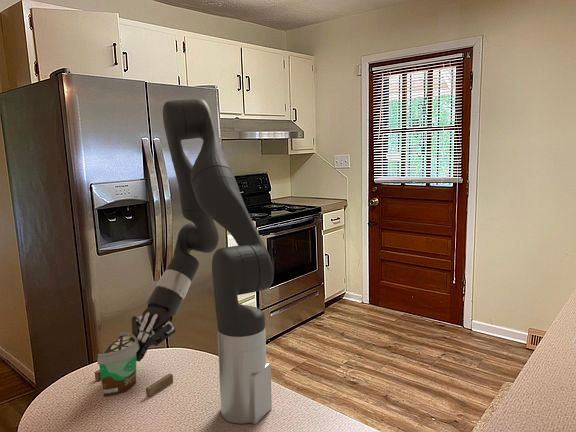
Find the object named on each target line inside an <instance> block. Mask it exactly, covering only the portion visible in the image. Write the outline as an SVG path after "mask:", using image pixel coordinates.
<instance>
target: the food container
mask: <svg viewBox="0 0 576 432" xmlns="http://www.w3.org/2000/svg"><path fill="white" fill-rule="evenodd" d="M138 350H139V344H138V340H137V339H136V337H135V336H134V335H132V333H129V332H119V336H118V338H117V339H116V340H115V341H113V342H112V343H111V344H110V345H109V346H108V347H107V349H106V350H105V351H104V352H103V353H97V365H99V370H100V374H101V380H100V381H101V389H102V393H103V394H102V395H103V397H104V398H105V397H113V396H118V395H121V394H123V393H126V392H128V391H130V390H131V389H133V388H134V387H135V385H136V383H137V361H136V352H137V351H138Z"/></svg>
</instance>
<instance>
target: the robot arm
mask: <svg viewBox="0 0 576 432" xmlns="http://www.w3.org/2000/svg"><path fill="white" fill-rule="evenodd" d="M162 120H163V126H164V127H163V128H164V132H165V137H166V141H167V145H168V149H169V153H170V158H171V162H172V166H173V169H174V173H175V177H176V181H177V186H178V193H179V201H180V208H181V214H182V217H183V218H184V219H186V220H188V221H189V222H192V223H187V224H185V225H183V226H182V227H181V228H180V230H179V231H178V234H177V239H176V243H175V247H174V250H173V256H172V258H171V260H170V262H169V264H168V265H167V268H166V269H165V271H164V272H163V273H162V275H161V276H160V278H159V279H158V281H157V284H156V285H155V287H154V289H153V291H152V293H151V294H150V296H149V298H148V300H147V307H146V309H144V310H143V311H142V313H141V315H139V316H136V315H134V316H132V317H131V334H132V335H134V336H135V337H136V339H137V340H138V344H139V350H138V351H137V352H136V362H141V361H142V360H143V359H144V357H145V355H146V353H147V351H148V349H149V348H150V347H151V346H155V347H157V346H159V345H160V344H161V343H162V342H163V341H165V340H166V339H168V338H169V337H171V335H173V334H175V333H176V331H177V329H176V327H175V326H173V324H172V322H173V320H174V316H176V315H177V314H178V312H179V310H180V307H181V305H182V303H183V301H184V299H185V297H186V296H187V293H189V292H188V291H189V288H190V286H191V284H192V281H193V279H194V277H195V275H196V273H197V271H198V269H199V265H200V262H199V260H198V259H197V257H195V256H194V255H192V254H190V253H191V251H195V252H199V253H204V254H208V253H209V254H210V253H213V252H214V253H213V256H212V259H211V260H212V261H211V274H212V284H213V285H212V286H213V295H214V296H213V297H214V309H215V316H216V322H217V323H216V325H217V344H218V345H217V347H218V348H217V350H218V351H217V352H218V370H219V394H220V412H221V413H220V414H221V417H222V418H223V419H225V420H226V421H227V422H230V423H233V424H254V425H256V424H257V423H259V421H261V420H262V419H263V418H264V417H265V416H266V415H267V414H268V413H269V411H271V409H272V408H273V407H272V405H273V403H272V402H273V401H272V370H271V369H272V366H271V365H272V364H271V363H270V362H267V344H266V343H267V341H266V338H267V337H266V333H267V332H266V314H265V313H264V311H263V310H261V309H260V308H258V307H256V306H252V305H247V304H241V303H239V297H238V296H242V295H246V294H251V293H256V292H257V293H258V292H260V291H264V290H267V289H269V288H270V287H271V286H272V284H273V282H274V277H275V276H274V274H275V273H274V265H273V261H272V258H271V255H270V253H269V250H268V249H267V246H266V245H265V243H264V240H263V239H262V237H261V235H260V233H259V232H258V230H257V227H256V226H255V223H254V221H253V219H252V217H251V215H250V213H249V211H248V209H247V207H246V204H245V201H244V199H243V196H242V194H241V191H240V188H239V186H238V182H237V180H236V178H235V175H234V171H233V170H232V168H231V165H230V164H229V160H228V159H227V156H226V154H225V152H224V149H223V147H222V144H221V140H220V137H219V134H218V131H217V127H216V125H215V121H214V117H213V114H212V111H211V108H210V106H209V104H208V103H207V102H206V100H204V99H202V98H188V99H175V100H174V99H173V100H168V101H166V102H165V103H164V104H163V107H162ZM193 139H201V140H202V146H201V147H200V148H201V149H200V151H199V153H198V155H197V157H196V158H195V160H194V163H193V164H192V163H191V161H190V159H189V158H188V157H187V155H186V153H185V150H184V148H183V145H182V141H183V140H184V141H185V140H193ZM215 222H216V223H217V224H219V225H220V226H221V227H222V228H223V229H225V230H226V231H227V232H228V234H230V235H231V236H232V238H233V240H234V241H235V243H236V244H237V245H234V246H233V245H232V246H225V247H220V248H217V247H218V244H219V240H220V239H219V237H220V236H219V231H218V229H217V225H216V223H215ZM216 248H217V249H216ZM215 249H216V250H215Z"/></svg>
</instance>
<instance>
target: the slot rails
mask: <svg viewBox="0 0 576 432" xmlns="http://www.w3.org/2000/svg"><path fill="white" fill-rule="evenodd" d="M94 378H95V380H94V381H96V382H99V381H101V374H100V369H98V370H95V371H94ZM173 383H174V375H173V374H172V373H167V374H166V375H164V376H163V377H161V378H159V379H158V380H157V381H155V382H153V383H152V384H150V385H148V386H146V388H145V394H146V395H145V396H146V398H148V399H151V398H152V397H154V396H155V395H157V394H159V393H160V392H162V390H163V391H164V389H166V388H168V387H170V385H173Z"/></svg>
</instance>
